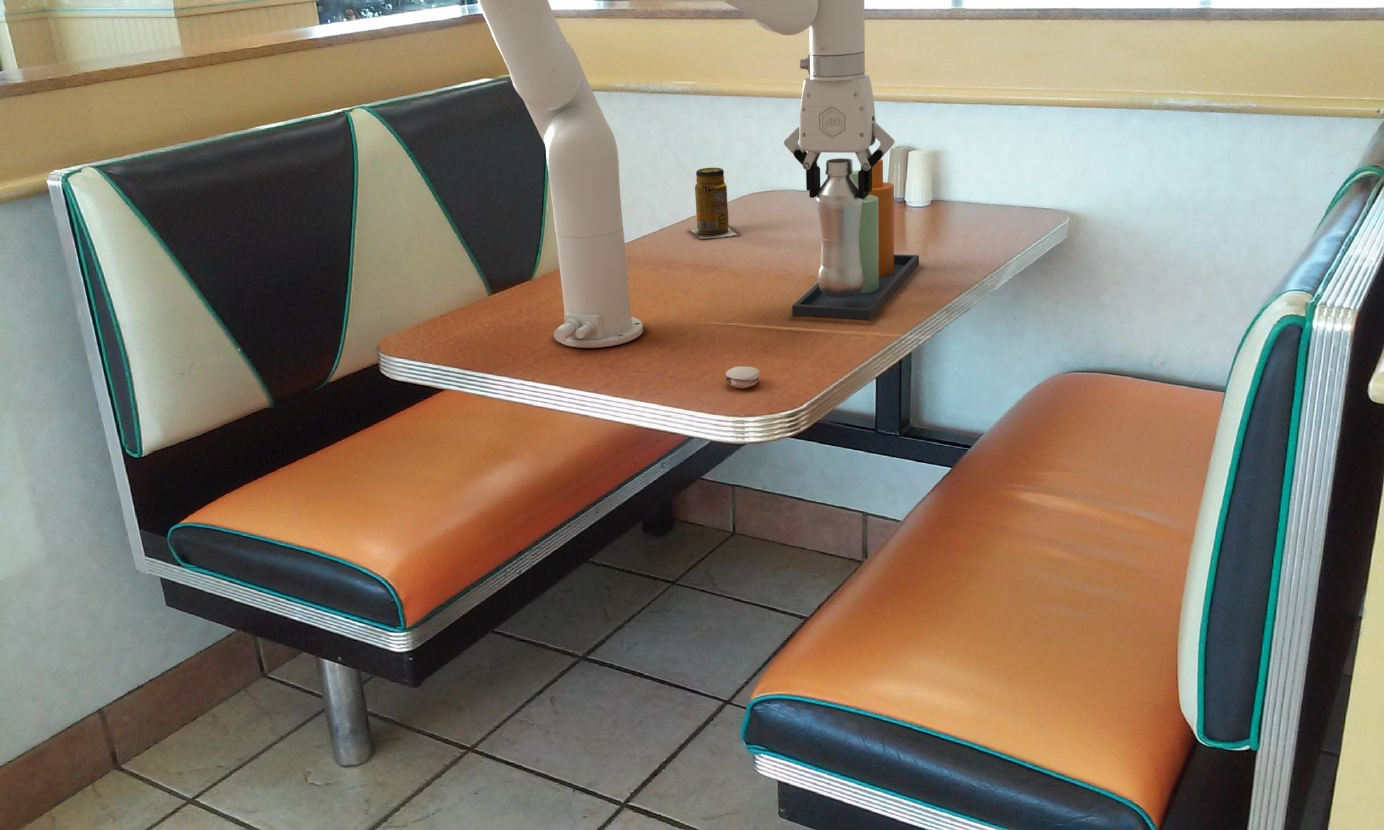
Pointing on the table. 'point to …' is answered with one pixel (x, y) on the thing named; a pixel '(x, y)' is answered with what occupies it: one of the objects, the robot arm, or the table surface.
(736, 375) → the macaroon
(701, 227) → the condiment
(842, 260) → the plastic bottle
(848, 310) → the tray
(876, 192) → the amber bottle
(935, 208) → the table surface
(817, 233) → the table surface
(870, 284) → the sage bottle
